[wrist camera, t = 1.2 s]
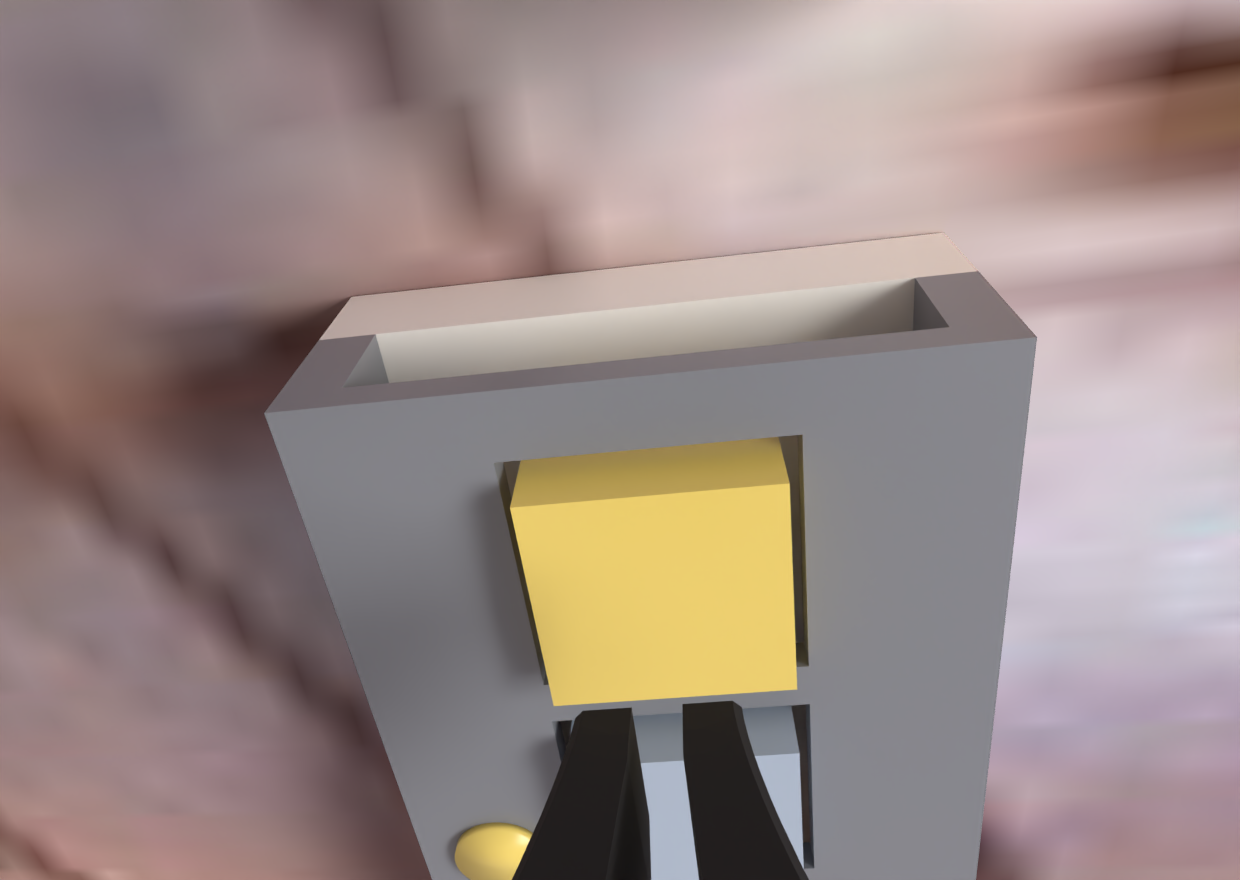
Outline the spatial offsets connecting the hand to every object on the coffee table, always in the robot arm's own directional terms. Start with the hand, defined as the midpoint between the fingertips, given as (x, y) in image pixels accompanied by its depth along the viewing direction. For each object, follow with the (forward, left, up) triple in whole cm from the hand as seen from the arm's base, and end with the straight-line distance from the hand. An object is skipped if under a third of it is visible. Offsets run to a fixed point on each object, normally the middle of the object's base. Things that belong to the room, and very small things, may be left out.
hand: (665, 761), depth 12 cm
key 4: (0, 0, -5) cm, 5 cm away
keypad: (-8, 0, -8) cm, 12 cm away
